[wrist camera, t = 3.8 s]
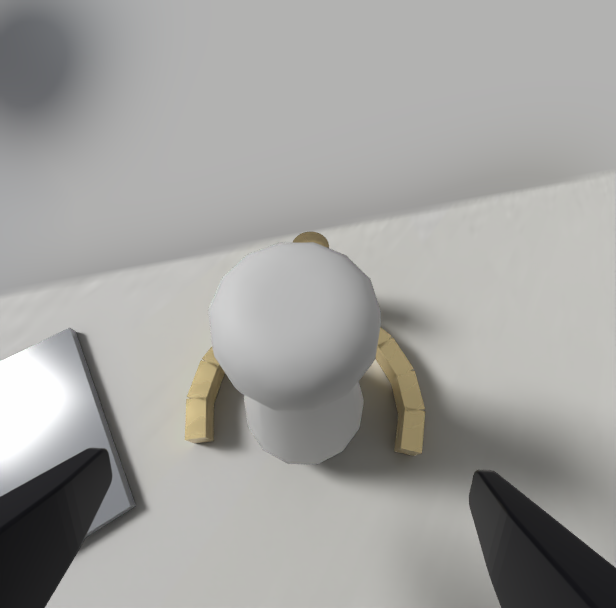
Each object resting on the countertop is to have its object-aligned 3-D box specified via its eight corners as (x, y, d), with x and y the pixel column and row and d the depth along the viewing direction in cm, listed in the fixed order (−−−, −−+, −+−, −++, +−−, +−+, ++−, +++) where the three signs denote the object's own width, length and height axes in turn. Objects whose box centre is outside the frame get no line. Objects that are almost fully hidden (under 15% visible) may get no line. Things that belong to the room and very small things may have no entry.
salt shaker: (246, 369, 21) (161, 220, 9) (342, 350, 21) (377, 184, 10) (261, 479, 18) (167, 466, 6) (370, 454, 18) (464, 399, 7)
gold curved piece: (420, 456, 18) (464, 443, 13) (188, 443, 19) (138, 425, 14) (406, 285, 23) (433, 224, 18) (220, 278, 24) (193, 216, 18)
